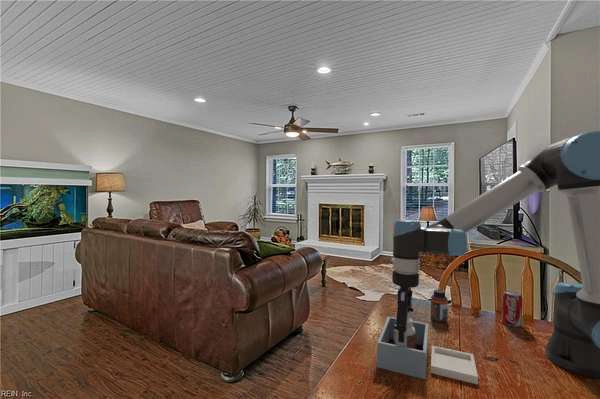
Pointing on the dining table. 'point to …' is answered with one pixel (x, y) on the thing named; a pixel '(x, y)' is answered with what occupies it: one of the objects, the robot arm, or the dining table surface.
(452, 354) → the tray
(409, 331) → the pill bottle
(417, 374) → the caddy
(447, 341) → the dining table surface
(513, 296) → the soda can
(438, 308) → the supplement bottle
